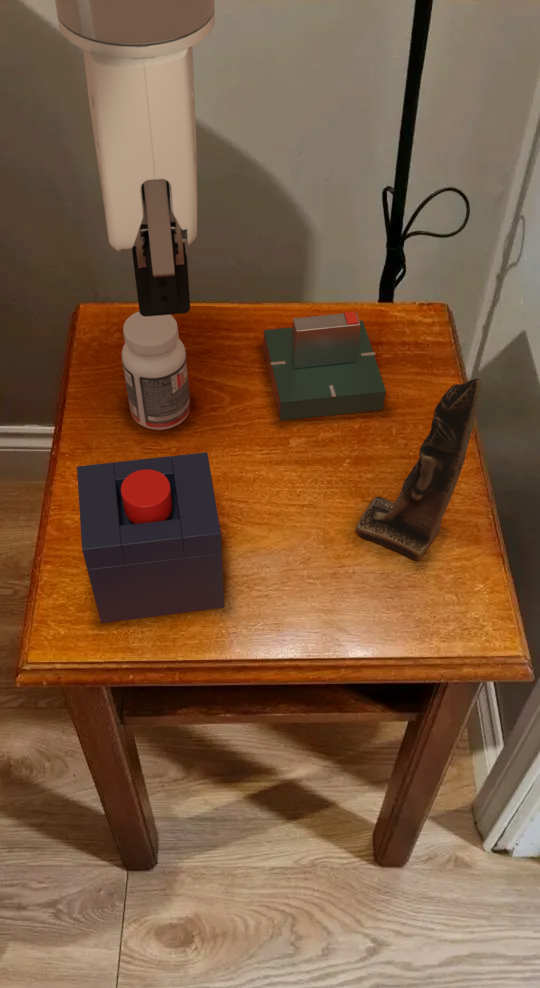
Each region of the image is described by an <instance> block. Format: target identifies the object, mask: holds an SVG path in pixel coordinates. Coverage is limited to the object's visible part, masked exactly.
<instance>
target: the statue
mask: <svg viewBox="0 0 540 988" xmlns="http://www.w3.org/2000/svg"><path fill="white" fill-rule="evenodd" d="M481 385H482V381H481V379H480V378H474V379H470V380H468V381H465V382H463V383H457V384H454V385H451V387H449V388H448V389H447V390H446V392H445V393H444V395H442V397H441V399H440V400H439V402H438V403H437V404H436V406H435V408H434V411H433V418H432V420H431V424H430V431H429V433H428V435H427V436H426V438H425V439H424V441H423V442H422V444H421V445H420V448H419V452H418V453H419V454H418V455H419V457H418V460H417V461H416V463H415V464H414V465H413V467H412V469H411V471H410V472H409V473H408V475H407V476H406V477H405V479H404V481H403V484H402V487H401V489H400V492H399V494H398V497H397V498H396V499H395V502H393V501H391V500H389V499H386V498H384V497H381V496H375V497H374V498H372V500H371V502H369V504H368V506H367V508H366V509H365V510H364V513H362V515H361V517H360V519H359V521H358V522H357V524H356V527H355V532H356V534H357V535H358V536H359V537H360V538H362V539H364V540H367V541H370V542H373V543H376V544H379V545H381V546H383V547H385V548H387V549H390V550H392V551H395V552H398V553H399V554H401V555H404V556H405V557H408V558H410V559H411V560H414V561H417V562H418V561H421V560H422V558H423V557H424V556H425V554H426V552H427V551H428V550H429V548H430V547H431V545H432V543H433V542H434V540H435V539H436V538H437V536H438V534H439V533H440V531H441V529H442V528H441V524H442V521H443V520H442V519H443V517H444V515H445V513H446V511H447V509H448V506H449V504H450V501H451V498H452V496H453V494H454V491H455V488H456V486H457V483H458V481H459V477H460V476H461V471H462V469H463V466H464V464H465V460H466V455H467V451H468V448H469V447H468V446H469V443H470V440H471V435H472V431H473V428H474V422H475V418H476V413H477V407H478V401H479V396H480V392H481V388H482V386H481Z"/></svg>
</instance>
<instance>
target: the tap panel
mask: <svg viewBox="0 0 540 988" xmlns="http://www.w3.org/2000/svg"><path fill="white" fill-rule="evenodd" d="M359 322H360V333H359V341H358V348H357V356H356V362H351V363H342V364H332V365H323V366H313V367H304V368H294V365H293V361H292V358H291V347H292V326H291V327H281V328H269V329H264V330H263V341H262V342H263V344H262V345H263V346H262V347H263V354H264V358H265V363H266V366H267V371H268V376H269V380H270V385H271V388H272V393H273V397H274V402H275V406H276V411H277V414H278V419H279V421H280V422H283V421H293V420H302V419H311V418H321V417H331V416H339V415H348V414H350V415H351V414H359V413H368V412H378V411H383V410H384V404H385V399H386V392H387V390H386V387H385V384H384V381H383V378H382V375H381V373H380V369H379V366H378V363H377V360H376V357H375V356H377V354H376V352H375V351H374V350H373V347H372V344H371V342H370V338H369V334H368V332H367V329H366V326H365V322H364V321H363V320H359Z"/></svg>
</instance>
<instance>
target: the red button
mask: <svg viewBox="0 0 540 988" xmlns="http://www.w3.org/2000/svg"><path fill="white" fill-rule="evenodd" d="M121 495H122V500H123V505H124V511H125V514H126V516H127V518H128V519H129V520H130V521H132V522H133V523H135V524H139V523H148V522H157V521H164V520H166V519H167V518H168V517H169V515H170V513H171V511H172V498H171V489H170V483H169V481H168V479H167V478H166V477H165V476H164V475H163V474H162V473H160V472H158V471H155V470H147V469H146V470H139V471H136V472H133V473H131V474H130V475H129V476H127V477H126V478H125V480H124V481H123V483H122V485H121Z"/></svg>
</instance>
